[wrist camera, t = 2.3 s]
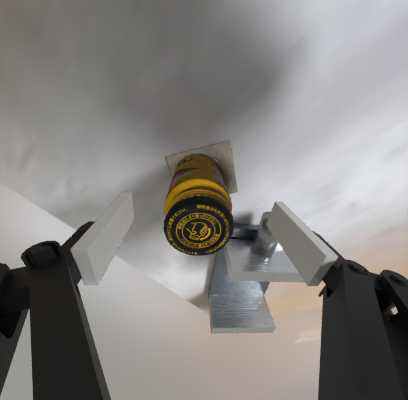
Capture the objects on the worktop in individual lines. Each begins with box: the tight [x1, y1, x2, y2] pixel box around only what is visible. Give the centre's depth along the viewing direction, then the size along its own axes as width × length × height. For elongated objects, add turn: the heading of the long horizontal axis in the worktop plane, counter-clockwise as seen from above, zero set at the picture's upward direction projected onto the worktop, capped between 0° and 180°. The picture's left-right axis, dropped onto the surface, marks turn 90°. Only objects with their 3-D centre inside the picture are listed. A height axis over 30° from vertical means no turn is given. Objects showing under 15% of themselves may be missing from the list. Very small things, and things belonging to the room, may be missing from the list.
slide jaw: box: [223, 212, 305, 282], centre depth 23 cm, size 8×11×6 cm
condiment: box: [163, 141, 238, 256], centre depth 17 cm, size 7×8×12 cm
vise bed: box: [208, 224, 276, 333], centre depth 28 cm, size 20×12×7 cm, turn 174°
